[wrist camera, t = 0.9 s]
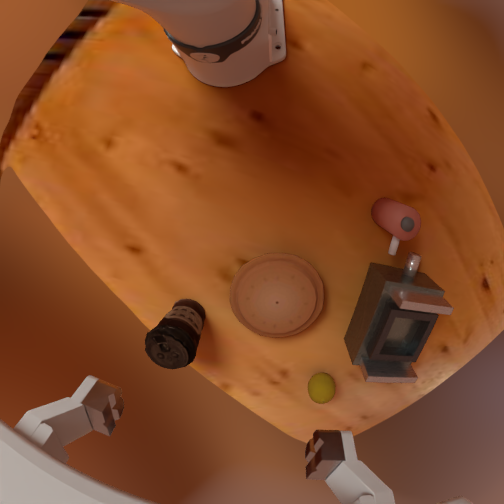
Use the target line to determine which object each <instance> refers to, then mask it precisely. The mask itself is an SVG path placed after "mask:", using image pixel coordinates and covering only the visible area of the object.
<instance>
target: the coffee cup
mask: <svg viewBox="0 0 504 504" xmlns="http://www.w3.org/2000/svg"><path fill="white" fill-rule="evenodd" d="M204 320H205V312H204V309H203V307H202V306H201V305H200V304H199V303H197V302H196V301H194V300H191V299H180V300H179V301H176V302H175V304H174V306H173V308H172V310H171V311H170V312H168V313H167V314H166V315H165V317H164V318H163V319H162V320H161V321H160V322H159V324H158V325H157V326H156V327H155V328H154V329H152V330H151V331H150V332H148V333H147V336H146V339H145V345H146V348H145V351H146V353H147V354H148V356H149V357H150V358H151V360H152V361H153V362H155V363H156V364H157V365H160V366H161V367H164V368H168V369H176V368H181V367H185V366H187V365H188V364H190V363H191V362H193V360H194V358H195V356H196V351H197V347H198V344H199V340H200V336H201V331H202V329H203V324H204Z"/></svg>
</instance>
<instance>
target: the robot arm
mask: <svg viewBox="0 0 504 504" xmlns="http://www.w3.org/2000/svg"><path fill="white" fill-rule="evenodd" d="M111 1H115V2H118V3H122V4H125V5H129V6H131V7H134V8H137V9H139V10H142V11H143V12H145V13H147V14H149V15H150V16H151V17H152V18H153V19H155V20H156V21H157V22H158V23H159V24H160V25H161V26H162V27H163V28H164V31H165V33H166V35H167V36H168V39H169V40H170V41H171V42H172V43H173V45H172V50H173V51H174V53H175V54H177V55H178V56H179V57H181V58H182V59H183V60H184V61H185V63H186V65H187V68H188V69H189V71H190V72H191V74H192V75H193V76H194V77H196V78H197V79H198V80H200V81H201V82H203V83H206V84H208V85H212V86H217V87H230V86H236V85H240V84H243V83H246V82H248V81H250V80H252V79H253V78H255V77H256V76H258V75H259V74H260V73H261V72H262V71H263V70H264V69H265V68H267V67H268V66H270V65H273V64H275V63H278V62H280V61H282V60H284V59H285V58H286V42H285V27H284V14H283V2H282V0H111ZM276 47H280V49H276ZM121 394H122V390H121V388H120V387H117V386H114V385H112V384H110V383H107V382H105V381H102V380H100V379H98V378H96V377H93V376H91V375H89V376H88V377H86V379H85V380H84V381H83V383H82V384H81V385H80V387H79V388H78V389H77V391H76V392H75V393H74V395H73V396H72V397H71V398H69V397H67V398H64V399H62V400H59V401H56V402H53V403H50V404H47V405H44V406H41V407H38V408H35V409H32V410H29V411H27V412H26V413H25V415H24V416H23V417H22V419H21V420H20V421H19V422H18V424H17V425H16V426H15V428H14V429H12V428H11V427H10V426H8V425H7V424H6V423H5V422H3V421H2V420H1V419H0V504H159V503H156V502H153V501H149V500H147V499H143V498H141V497H138V496H135V495H132V494H130V493H127V492H125V491H122V490H120V489H117V488H114V487H112V486H110V485H108V484H105V483H103V482H101V481H99V480H97V479H94V478H92V477H90V476H88V475H86V474H84V473H82V472H80V471H78V470H76V469H75V468H73V467H71V466H69V465H67V464H66V462H67V460H68V459H69V456H68V454H67V453H66V451H65V449H64V448H63V446H65V445H67V444H69V443H70V442H72V441H74V440H76V439H78V438H80V437H82V436H83V435H85V434H87V433H89V432H90V431H92V430H93V429H94V430H96V431H98V432H101V433H103V434H105V435H108V436H110V435H111V433H112V431H113V429H114V428H115V426H116V425H115V420H117V419H119V418H120V417H121V415H122V412H123V409H124V401H123V399H122V397H121ZM305 458H306V460H307V461H308V462H309V463H308V465H307V466H306V479H316V480H325V481H326V483H327V484H328V486H329V487H330V488H331V490H332V491H333V492H334V494H335V495H336V497H337V498H338V499H339V501H340V502H341V503H342V504H395V501H394V497H393V492H392V490H391V489H389V488H388V487H387V486H386V485H385V484H384V483H383V482H382V481H381V480H380V479H379V478H378V477H377V476H376V475H375V474H374V473H373V472H372V471H371V470H370V469H369V468H368V467H367V466H366V465H365V464H364V463H363V462H362V461H358V459H357V454H356V449H355V444H354V440H353V435H352V432H351V431H339V430H316V431H315V432H314V433H313V438H312V439H310V440H309V442H308V443H307V447H306V451H305ZM436 504H473V503H472V502H471V501H469V500H468V499H466V498H464V497H462V496H458V497H454V498H451V499H448V500H445V501H442V502H440V503H436Z"/></svg>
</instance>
